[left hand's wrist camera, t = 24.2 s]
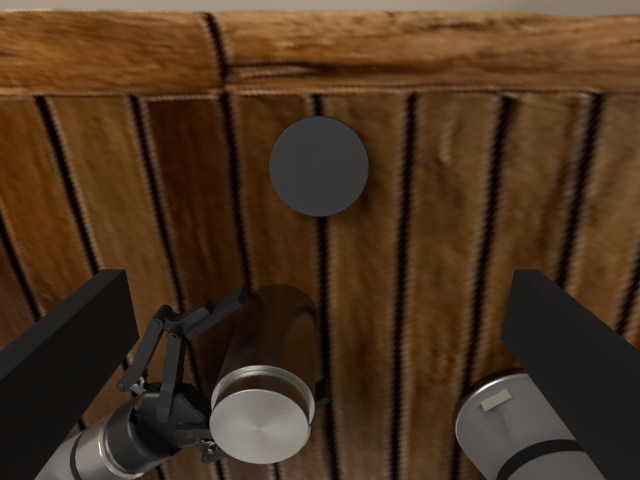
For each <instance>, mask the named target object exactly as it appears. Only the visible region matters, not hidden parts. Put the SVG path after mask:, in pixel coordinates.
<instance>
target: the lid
mask: <svg viewBox="0 0 640 480" xmlns="http://www.w3.org/2000/svg"><path fill="white" fill-rule="evenodd" d="M269 171H270V172H269V173H270V178H271V182H272V184H273V187H274V189H275V191H276V193H277V194H278V195H279V197H280V198H281V199H282V200H283V202H284V203H286V204H287V205H288V206H289V207H291V208H292V209H294V210H295V211H297V212H299V213H302V214H305V215H309V216H318V217H319V216H329V215H333V214H336V213H338V212H341V211H343V210H344V209H346V208H348V207H349V206H350V205H351V204H353V202H354V201H355V200H356V199H357V198H358V197H359V195H360V194H361V192H362V191H363V189H364V187H365V184H366V181H367V177H368V171H369V162H368V156H367V152H366V148H365V146H364V144H363V143H362V141H361V139H360V138H359V137H358V134H357V133H356V132H354V131H353V130H352V129H351V128H350V127H349V126H348V125H346V123H345V122H342V121H340V120H338V119H335V118H333V117H331V116H330V117H328V116H320V115H319V116H315V115H314V116H310V117H306V118H303V119H299V120H298V121H296V122H294V123H293V124H291V125H290V126H289V127H288V128H287V127H286V128H285V131H284V132H283V133H282V134H281V135H280V136H279V138H278V139H277V140H276V141H275V144H274V147H273V149H272V152H271V155H270V161H269Z"/></svg>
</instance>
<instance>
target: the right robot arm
mask: <svg viewBox="0 0 640 480" xmlns="http://www.w3.org/2000/svg"><path fill="white" fill-rule="evenodd" d="M247 294H248V290H247V289H246V287H245V286H244V285H243V286H242V287H240V288H239V289H237V290H236V291H234V292H233V293H231V294H230V295H228V296H227V297H225V298H224V299H222V300H221V301H219V302H218V303H216V304H215V305H213V304H212V303H211V302H210V300H204V301H202V302H201V303H199V304H198V305H196V306H195V307H193V308H192V309H190V310H189V311H187V312H186V313H184V314H177V313H175V312H173V310H172V308H171V307H170V306H169V305H162V306H161V307H160V309H159V310H158V311H157V313H156V314H155V315H154V317H153V318H152V320H151V321H150V323H149V325H148V328H147V330H146V332H145V335H144V337H143V339H142V342H141V344H140V346H139V349H138V351H137V353H136V356H135V358H134V361H133V363H132V364H131V365H130V366H129V367H128V369H127V370H126V372H125V373H124V374H123V376H122V377H121V379H120V380H119V382H118V383H117V385H116V388H117V389H118V390H119V391H122V392H124V391H127V390H128V389H129V388H130V389H131V390H132V391H134V392H135V393H137V394H138V395H137V396H136V397H134V398H133V399H131V400H130V401H128V402H126V403H125V404H123V405H122V406H120V407H119V408H118V409H116V410H114V411H113V412H111V413H110V414H108V415H107V416H105V417H103V418H102V419H100V420H99V421H97V422H96V423H94V424H93V425H91V426H89V427H88V428H86V429H85V430H84V431H82V432H80V433H79V434H77V435H76V436H74V437H72V438H71V439H69V440H67V441H66V442H64V443H62V444H61V445H60V446H59V447H58V448H57V450H56V451H55V452H54V454H53V455H52V457H51V458H50V459H49V461H48V462H47V463H46V465H45V466H44V467H43V469H42V470H41V471H40V473H39V474H38V475H37V477H36V478H35V479H34V480H134V479H136V478H138V477H139V476H141V475H143V474H144V473H146V472H147V471H149V470H151V469H153V468H155V467H156V466H158V465H160V464H161V463H163V462H165V461H167V460H168V459H170V458H172V457H173V456H174V455H175V454H176V453H178V452H179V451H180V450H181V449H182V448H183V447H186V446H193V445H196V446H197V447H198V448H199V449H200V450H201V451H202V452H203V455H202V458H201V461H202V462H203V463H205V464H209V463H212V462H214V461H217V460H219V459H222V458H228V457H232V456H230V455H229V454H227V453H226V452H224V451H223V450H222V449H221V448H220V447H219V446H218V445H217V444H216V442H215V441H214V439H213V437H212V435H211V432H210V425H209V426H206V425H207V422H208V418H209V415H210V416H211V413H212V408H211V404H209V403H210V401H209V400H208V399H207V398H206V397H204V396H203V395H201V394H199V393H198V391H197V389H196V388H195V387H194V386H193V385H192V384H191V383H190V384H186V383H182V380H183V373H184V368H183V365H184V358H185V351H186V345H187V339H188V340H189V341H190V340H192V339H193V338H195V337H196V336H198V335H199V334H201V333H203V332H204V331H206V330H207V329H209V328H210V327H212V326H213V325H215V324H216V323H218V322H219V321H221V320H222V319H224V318H225V317H227V316H228V315H230V314H231V313H233V312H234V311H236V310H238V309H239V308H241V307H242V306H243V305H244V302H245V299H246V297H247ZM164 330H165V331H167V332H168V334H167V335H166V338H167V337H168V342H167V350H166V358H165V366H164V375H163V382H153V383H149V384H148V382H147V378H148V373H147V372H148V369H147V368H146V367H147V366H148V364H149V363H150V361H151V359H152V357H153V354H154V352H155V350H156V348H157V345H158V343H159V341H160V339H161V336H162V334H163V332H164ZM330 401H331V398H330V381H329V380H328V379H327V378H326V377H325V378H324V379H322V380H320V381H318V382H317V383H315V409H317V408H319V407H321V406H323V405H324V404H326V403H328V402H330Z"/></svg>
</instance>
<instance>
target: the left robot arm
mask: <svg viewBox="0 0 640 480" xmlns="http://www.w3.org/2000/svg"><path fill="white" fill-rule="evenodd" d="M138 339H139V333H138V329H137V324H136V319H135V314H134V310H133V305H132V300H131V295H130V291H129V286H128V281H127V276H126V272H125V269H102V270H101V271H100V272H99V273H97V274H96V275H95V276H94V277H92V278H91V279H90V280H89V281H87V282H86V283H85V284H84V285H82V286H81V287H80V288H79V289H77V290H76V291H75V292H74V293H72V294H71V295H70V296H69V297H67V298H66V299H65V300H64V301H62V302H61V303H60V304H59V305H57V306H56V307H55V308H54V309H52V310H51V311H50V312H49V313H48V314H46V315H45V316H44V317H43V318H41V319H40V320H39V321H38V322H36V323H35V324H34V325H33V326H31V327H30V328H29V329H28V330H26V331H25V332H24V333H23V334H21V335H20V336H19V337H18V338H16V339H15V340H14V341H13V342H11V343H10V344H9V345H8V346H6V347H5V348H4V349H3V350H1V351H0V480H34V479H35V478H36V477H37V475H38V474H39V473H40V471H41V470H42V469H43V467H44V466H45V465H46V463H47V462H48V461H49V459H50V458H51V457H52V455H53V454H54V452H55V451H56V450H57V448H58V447H59V446H60V444H61V443H62V442H63V440H64V439H65V438H66V436H67V435H68V434H69V432H70V431H71V430H72V428H73V427H74V426H75V424H76V423H77V421H78V420H79V419H80V417H81V416H82V415H83V413H84V412H85V411H86V409H87V408H88V407H89V405H90V404H91V403H92V401H93V400H94V399H95V397H96V396H97V395H98V393H99V392H100V390H101V389H102V388H103V386H104V385H105V384H106V382H107V381H108V380H109V378H110V377H111V376H112V374H113V373H114V372H115V370H116V369H117V368H118V366H119V365H120V364H121V362H122V361H123V359H124V358H125V357H126V355H127V354H128V353H129V351H130V350H131V349H132V347H133V346H134V345H135V343H136V342H137V341H138ZM501 339H502V341H503V342H504V343H505V345H506V346H507V347H508V349H509V350H510V351H511V353H512V354H513V355H514V357H515V358H516V359H517V361H518V362H519V364H520V365H521V366H522V368H516V369H509V370H504V371H501V372H497V373H495V374H492V375H490V376H487V377H486V378H484V379H482V380H480V381H479V382H477V383H476V384H474V385H473V386H472V387H471V388H469V389H468V390H467V391H466V392H465V393H464V395H463V396H462V397H461V398H460V400H459V402H458V403H457V405H456V408H455V410H454V414H453V429H454V432H455V435H456V437H457V440H458V442H459V444H460V446H461V448H462V449H463V451H464V452H465V454H466V455H467V456H468V458H469V459H470V460H471V461H472V462H473V464H474V465H475V466H476V467H477V468H478V470H479V471H480V472H481V473H482V474H483V475H484V477H485V478H486V479H487V480H640V351H639V350H637V349H636V348H635V347H634V346H632V345H631V344H630V343H629V342H627V341H626V340H625V339H624V338H622V337H621V336H620V335H619V334H617V333H616V332H615V331H614V330H612V329H611V328H610V327H609V326H607V325H606V324H605V323H604V322H602V321H601V320H600V319H599V318H597V317H596V316H595V315H594V314H592V313H591V312H590V311H589V310H588V309H586V308H585V307H584V306H583V305H581V304H580V303H579V302H578V301H576V300H575V299H574V298H573V297H571V296H570V295H569V294H568V293H566V292H565V291H564V290H563V289H561V288H560V287H559V286H558V285H556V284H555V283H554V282H553V281H551V280H550V279H549V278H548V277H546V276H545V275H544V274H543V273H541V272H540V271H539V270H538V269H515V272H514V276H513V281H512V286H511V291H510V295H509V300H508V305H507V310H506V314H505V319H504V324H503V329H502V333H501Z"/></svg>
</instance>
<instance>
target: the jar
mask: <svg viewBox="0 0 640 480" xmlns="http://www.w3.org/2000/svg"><path fill="white" fill-rule="evenodd" d="M315 372H316V311H315V308H314V305H313V303H312V302H311V300H310V299H309V298H308V297H307V296H306V295H305V294H304V293H303V292H302V291H300V290H298V289H296V288H294V287H291V286H288V285H281V284H275V285H268V286H265V287H262V288H260V289H258V290H256V291H255V292H254V293H252V294H251V295H250V296H249V297H248V299H247V300H246V302H245V304H244V307H243V310H242V312H241V315H240V318H239V321H238V324H237V326H236V329H235V332H234V335H233V338H232V340H231V343H230V346H229V349H228V352H227V354H226V357H225V360H224V363H223V366H222V368H221V371H220V374H219V377H218V380H217V382H216V385H215V388H214V391H213V394H212V398H211V408H212V413H211V417H210V423H209V425H210V432H211V435H212V437H213V439H214V441H215V442H216V444H217V445H218V446H219V447H220V448H221V449H222V450H223V451H224V452H226V453H227V454H229V455H230V456H232V457H234V458H236V459H239V460H242V461H245V462H249V463H256V464H268V463H275V462H279V461H282V460H285V459H287V458H289V457H291V456H293V455H294V454H296V453H297V452H298V451H299V450H300V449H301V448H302V447H303V446H305V444H306V442H307V440H308V438H309V436H310V429H311V425H310V423H311V421H312V419H313V416H314V412H315Z"/></svg>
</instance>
